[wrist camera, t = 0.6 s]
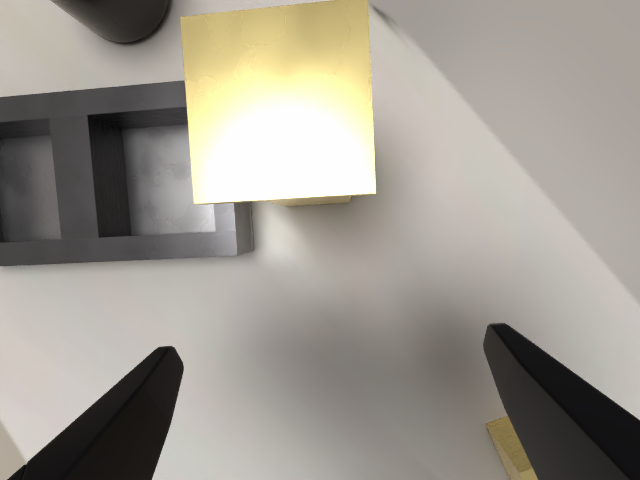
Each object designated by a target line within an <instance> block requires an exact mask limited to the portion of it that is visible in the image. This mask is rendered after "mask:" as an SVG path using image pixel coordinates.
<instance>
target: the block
mask: <svg viewBox="0 0 640 480" xmlns="http://www.w3.org/2000/svg"><path fill="white" fill-rule="evenodd" d="M486 427H487V429H488V431H489V433H490V436H491V438H492V440H493V442H494V445H495V447H496V449H497V452H498V454H499V456H500V458H501V461H502V463H503V465H504V467H505V470H506V472H507V474H508V476H509V479H510V480H538V479H537V476H536V474H535V472H534V470H533V468H532V466H531V464H530V462H529V460H528V457H527V455H526V453H525V451H524V449H523V447H522V445H521V443H520V440H519V438H518V436H517V434H516V432H515V430H514V428H513V426H512V424H511V421H510V419H509V417H508V416H506V417H503V418H500V419H498V420H495V421H492V422H489V423H487V424H486Z"/></svg>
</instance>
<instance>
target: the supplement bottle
mask: <svg viewBox="0 0 640 480" xmlns="http://www.w3.org/2000/svg"><path fill="white" fill-rule="evenodd" d="M51 1H52V2H53V3H55V4H56V5H57V6H59V7H60V8H61V9H63V10H64V11H66V12H67V13H68V14H70V15H71V16H72V17H74V18H75V19H76V20H78V21H79V22H81V23H82V24H83V25H85V26H86V27H88V28H89V29H90V30H92V31H93V32H95V33H96V34H98V35H99V36H101V37H103V38H105V39H108V40H111V41H114V42H133V41H136V40H139V39H142V38H144V37H145V36H147V35H148V34H150V33H151V32H152V31H153V30H154V29H155V28H156V27H157V26H158V25H159V23H160V22H161V20H162V18H163V16H164V14H165V12H166V9H167V5H168V0H51Z"/></svg>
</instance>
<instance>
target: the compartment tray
mask: <svg viewBox="0 0 640 480" xmlns="http://www.w3.org/2000/svg"><path fill="white" fill-rule="evenodd" d="M253 250H254V242H253V227H252V211H251V202H242V203H225V204H208V205H201V204H194V195H193V182H192V168H191V155H190V142H189V128H188V115H187V102H186V88H185V81H174V82H163V83H152V84H141V85H130V86H119V87H108V88H97V89H86V90H75V91H64V92H53V93H42V94H31V95H20V96H9V97H0V266H16V265H38V264H60V263H83V262H105V261H127V260H149V259H172V258H194V257H216V256H238V255H241V254H244V253H247V252H250V251H253Z"/></svg>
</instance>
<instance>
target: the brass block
mask: <svg viewBox="0 0 640 480" xmlns="http://www.w3.org/2000/svg"><path fill="white" fill-rule="evenodd" d="M180 22H181V35H182V48H183V62H184V75H185V88H186V102H187V115H188V128H189V142H190V155H191V168H192V182H193V195H194V204H201V205H208V204H225V203H242V202H259V201H267V202H271V203H275V204H279V205H283V206H298V205H315V204H333V203H349V202H350V199H351V196H362V195H374V194H375V193H376V182H375V158H374V134H373V110H372V86H371V62H370V38H369V14H368V0H332V1H323V2H314V3H304V4H295V5H286V6H276V7H267V8H258V9H249V10H239V11H230V12H221V13H212V14H202V15H193V16H184V17H180Z"/></svg>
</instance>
